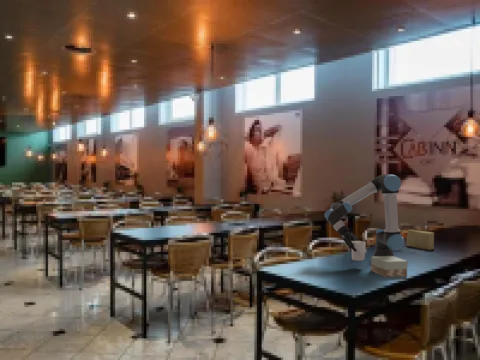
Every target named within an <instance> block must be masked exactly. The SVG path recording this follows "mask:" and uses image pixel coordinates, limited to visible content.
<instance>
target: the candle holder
mask: <svg viewBox="0 0 480 360" xmlns="http://www.w3.org/2000/svg"><path fill="white" fill-rule="evenodd" d="M351 241H352V240H351ZM352 243H353V245H354V246H355V247H356V248H357V249H358V250H359V251H360V253H361V254H360V255H359V256H358V255H357V254H356V253H355V252H354V251H353V249H352V248H351V249H350V250H351V251H350V253H351V260H352V261H355V262H356V261H357V262H360V261H361V262H363V261H365V257H366V253H365V249H366V247H367V246H366V241H361V240H360V241H352Z"/></svg>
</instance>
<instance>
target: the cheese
mask: <svg viewBox="0 0 480 360" xmlns="http://www.w3.org/2000/svg"><path fill="white" fill-rule="evenodd" d="M434 241H435V232H433V231H422V230H415V229H408V230H407V236H406V247H410V246H411V247H410V248H412V247H413V248H417V249H423V250H426V251H427V250H428V251H430V250H433V249H434V244H435V242H434Z"/></svg>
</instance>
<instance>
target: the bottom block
mask: <svg viewBox="0 0 480 360" xmlns="http://www.w3.org/2000/svg"><path fill="white" fill-rule="evenodd" d="M370 271H371V272H373V273H374V272H375V274H377V275H380V276H382V277H385V278H391V277H407V276H408V268H407V269H392V270H385V269H382V268H380V267H377V266H375V265H372V264H371V263H370Z"/></svg>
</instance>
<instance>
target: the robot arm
mask: <svg viewBox="0 0 480 360" xmlns="http://www.w3.org/2000/svg"><path fill="white" fill-rule="evenodd" d="M401 186H402V181H401V179H400V177H399V176H397V175H395V174H386V173H385V174H381V175H378V176H377V177H375V178H374V179H371V180H369V182H368V183H367V184H366V185H364V186H362V187H360V188H359V189H358V190H356V191H354V192H353V193H351V194H349V195H347V196H345V197H344V198H342V199H341V200H339V201H337V202H333V203H332V204H331V205H330V209H328V210H326V211H325V212H324V215H323V216H324V218H325V219H326V220H327V221H328V222H329V224H330V225H331V226H332V227H333V229H334V230H335V231H336V232H337V234H339V236H340V237H341V238H342V240H343V242H345V245H346V246H347V247H348V248H349V249H350V250H351V248H352V249H353V251H354V252H355V253H356V254H357V255H358V256H359V255H360V254H361V253H360V251H359V250H358V249H357V248H356V247H355V246H354V245H353V243H352V241H361V240H359V239H358V237H357V236H356V234H355V235H354V233H353V232H350V231H349V230H350V229H349V227H348V226H347V225H346V223H345V222H344V221H343V220H342V218H343V217H345V216H346V215H347V214H349V213H351V212H352V211H353V207H352V206H353V205H355V204H357V203H359V202H361V201H362V200H364V199H365V198H368V196H370V195H372V194H374V193H375V194H376V193H378V192H380V191H381V194H382V195H383V199H384V200H383V201H384V203H383V204H384V217H385V219H384V220H385V228H384V229H381V228H379V229H376V231H375V232H376V233H375V249H374V252H373V256H372V257H375V256H394V253H393V252H394V251H398V250H400V249H401V248H402V247H403V246H404V245H405V239H404V237H403V236H402V234H401V231H402V230H401V229H400V228H399V217H398V216H399V215H398V214H399V213H398V197H397V196H398V194H400V192H399V189H400V188H401ZM367 252H368V251H367V249H366V248H365V254H366V253H367ZM394 257H395V256H394Z"/></svg>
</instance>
